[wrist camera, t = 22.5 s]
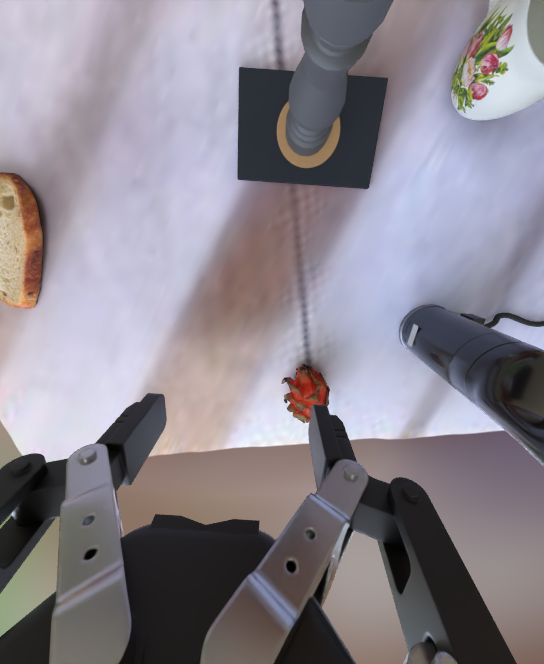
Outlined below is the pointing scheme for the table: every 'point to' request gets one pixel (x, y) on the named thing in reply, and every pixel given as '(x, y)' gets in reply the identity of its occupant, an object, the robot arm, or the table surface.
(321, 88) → the candle holder
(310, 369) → the dragon fruit
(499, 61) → the pitcher
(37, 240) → the bread slice
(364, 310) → the table surface
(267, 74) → the placemat
